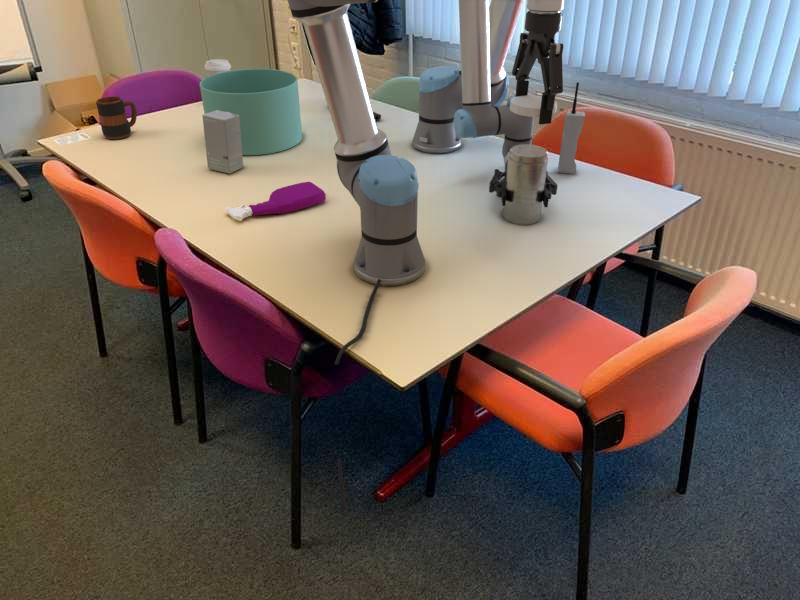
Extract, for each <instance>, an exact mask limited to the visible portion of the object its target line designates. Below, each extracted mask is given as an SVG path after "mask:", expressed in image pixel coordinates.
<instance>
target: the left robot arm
mask: <svg viewBox="0 0 800 600" xmlns="http://www.w3.org/2000/svg"><path fill="white" fill-rule="evenodd" d="M378 1H379V0H287V1H286V2H287V3H288V7H289V10H290V13H291V17H292V18H293V19H294V20H296V21H298V22H299V23H301V24H302V25H303V28H304V32H305V35H306V38H307V41H308V45H309V49H310V51H311V55H312V58H313V60H314V64H315V68H316V71H317V75H318V77H319V82H320V84H321V88H322V91H323V93H324V97H325V101H326V104H327V107H328V111H329V114H330V118H331V120H332V124H333V127H334V130H335V134H336V137H337V140H336V142H335V144H334V145H333V152H334V155H335V158H336V171H337V176H338V178H339V180H340V182H341V184H342V185H343V187H344V188H345V189H346V190H347V191H348V192H349V193H350V195H351V197H352V198H353V199H354V201H355V203H356V204H357V205H358V206H359V210H360V211H359V212H360V239H359V242H358V247H357V249H356V252H355V256H354V259H353V270H354V273H355V275H356V276H357V277H358V278H359V279H360V280H362V281H364V282H366V283H369V284H370V285H371V284H372V285H374V287H373V290H372V292H371V294H370V297H369V299H368V302H367V306H366V308H365V311H364V315H363V319H362V324H361V327H360V330H359V332H358V334H356V336H355V337H354V338H353V339H350V340H349V341H348V342H346V343H345V344H344V345H343V346H342V347H341V348H340V350H339V351H338V353H337V356H336V357H335V361H334V365H335V366H337V365H339V364H340V361H341V358H342V356H343V354H344V353H345V351H346V350H347V349H348V348H349V347H351V346H352V345H354V344H355V343H357V342H358V341H359V340H360V339H361V338H362V336H363V335H364V333H365V330H366V328H367V322H368V318H369V314H370V310H371V307H372V305H373V301H374V299H375V297H376V294H377V291H378V289H379V287H380V286H382V287H395V286H402V285H406V284H410V283H413V282H415V281H417V280H418V279H420V278H421V276H423V274H424V273H425V270H426V259H425V255H424V252H423V250H422V247H421V244H420V241H419V238H418V202H419V201H418V198H419V197H418V196H419V194H418V193H419V187H420V186H419V185H420V184H419V179H418V172H417V169H416V167H415V165H414V164H413V163H412V162H410V161H409V160H408V159H406V158H404V157H399V156H398V155H392V152H391V147H390V144H389V140H388V137H387V133H386V132H385V131H384V130H381V129H379V128H378V126H377V121H375V118H374V114H373V112H374V111H373V106H372V103H371V98H370V96H369V92H368V88H367V85H366V80H365V77H364V72H363V69H362V65H361V60H360V58H359V53H358V50H357V46H356V41H355V37H354V34H353V30H352V27H351V23H350V18H349V15H348V10H349V8H350V6H351V5H354V4H366V3H370V4H371V3H377V2H378ZM564 4H565V0H527V1H526V9H527V10H528V11H527V12H526V13H525V21H524V30H525V31H526V32H521V33H520V34H519V44H518V48H517V51H516V55H515V59H514V63H513V66H512V70H511V75H512V76H514V77H515V78H514V79H515V81H516V84H515V85H516V86H515V95H516V97H517V96H525V95H528V94H529V86H530V79H531V78H530V76H529V75H530V73H531V72H532V69H533V67H534V65H535V63H536V61H537V63H538V64H540V70H541V77H542V82H543V88H544V92H542V93H541V96H542V101H541V109H540V117H538V125H549V124H552V120H553V119H552V118H553V115H552V112H553V108H554V102H555V101H556V95H559V94H562V93H563V92H564V80H563V79H564V77H563V53H564V43H563V42H561V43H557V42H556V39H555V38H556V37H555V35H556V34H557V33H559V32H560V31H561V28H562V21H563V14H562V12H561V11H563V10H564ZM337 471H338V472H337V473H338V481H339V482H338V483H339V496H340V509H341V511H342V512H345V511H346V503H345V502H346V501H345V490H344V477H343V466H342V459H339V460H337Z"/></svg>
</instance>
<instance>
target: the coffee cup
mask: <svg viewBox="0 0 800 600" xmlns="http://www.w3.org/2000/svg"><path fill="white" fill-rule="evenodd" d="M231 68H232V65H231V63H230V62H229V60H228V59H225V58H215V59H214V58H213V59H209V60H206V61H205V64H204V70H205V71H206V75H207V76H206V77H208V76H211V75H214V74H217V73H221V72H226V71H231Z"/></svg>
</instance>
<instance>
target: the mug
mask: <svg viewBox="0 0 800 600" xmlns="http://www.w3.org/2000/svg"><path fill="white" fill-rule="evenodd" d="M95 103H96V108H97V113H98V116H99V118H100V127H101V132H102V136H104V138H105V139H108V140H122V139H125V138H128V137H129V136H131V134H132V127H134V125H135V124H136V121H137V115H138V113H137V111H138V110H137V106H136V104H135V103H134V102H133V101H132V100H127V101H123V98H122V97H120V96H104V97H101V98H98V99H97V100H96V101H95ZM128 106H130V108H131V117H130V121H129V120H128V117H127V115H126V107H128Z"/></svg>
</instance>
